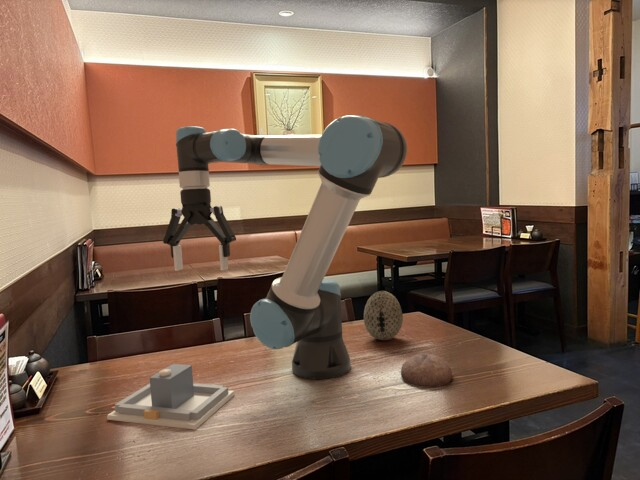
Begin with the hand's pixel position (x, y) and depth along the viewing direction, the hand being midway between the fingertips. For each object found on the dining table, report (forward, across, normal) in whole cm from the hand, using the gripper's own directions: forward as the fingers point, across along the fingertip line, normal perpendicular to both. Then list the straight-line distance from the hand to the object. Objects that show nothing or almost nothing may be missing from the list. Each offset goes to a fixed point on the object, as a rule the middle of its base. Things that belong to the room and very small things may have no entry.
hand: (201, 270), depth 119 cm
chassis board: (+27, -4, +22) cm, 35 cm away
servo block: (+26, -4, +22) cm, 34 cm away
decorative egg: (+27, -42, -31) cm, 59 cm away
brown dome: (+27, -56, -4) cm, 63 cm away
